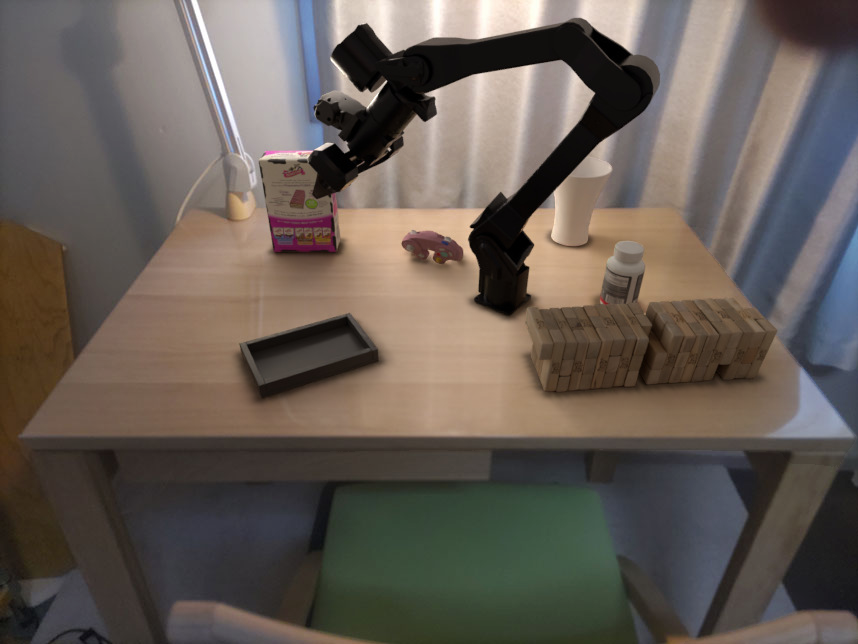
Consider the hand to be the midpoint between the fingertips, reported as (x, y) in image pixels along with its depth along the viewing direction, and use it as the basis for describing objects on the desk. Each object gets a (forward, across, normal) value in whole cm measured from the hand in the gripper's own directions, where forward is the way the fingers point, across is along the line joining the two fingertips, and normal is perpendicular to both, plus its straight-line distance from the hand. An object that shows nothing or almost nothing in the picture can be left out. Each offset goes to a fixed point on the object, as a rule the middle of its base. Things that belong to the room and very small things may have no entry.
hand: (331, 185), depth 94 cm
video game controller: (+1, -7, +20) cm, 21 cm away
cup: (-12, -25, +34) cm, 44 cm away
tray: (+3, +24, +16) cm, 29 cm away
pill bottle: (-19, -6, +43) cm, 47 cm away
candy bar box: (+15, -2, +3) cm, 16 cm away
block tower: (-22, +8, +47) cm, 52 cm away
